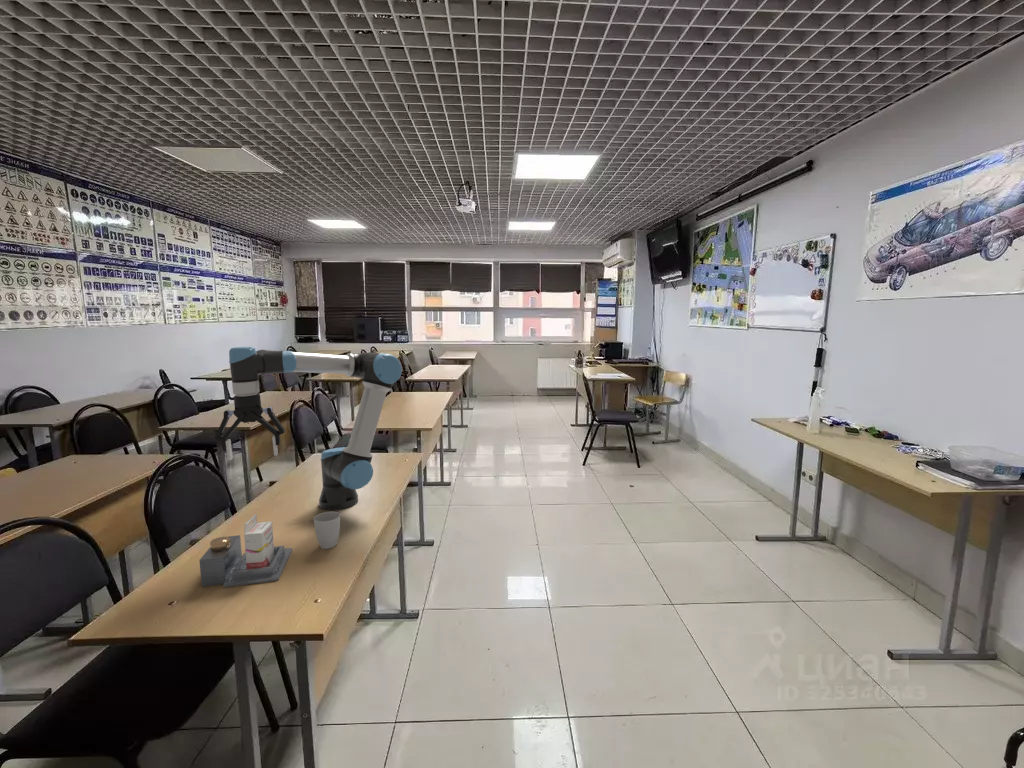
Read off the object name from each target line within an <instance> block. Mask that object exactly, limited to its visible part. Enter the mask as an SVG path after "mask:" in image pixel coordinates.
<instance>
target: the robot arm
mask: <svg viewBox="0 0 1024 768" xmlns="http://www.w3.org/2000/svg"><path fill="white" fill-rule="evenodd" d="M228 350H229V351H228V356H229V359H228V363H229V368H230V374H231V375H230V377H231V385H232V394H233V395H234V396H233V404H234V410H230V409H226V410H224V411H223V418H222V421H221V423H220V425H219V427H218V429H217V432H216V434H215V435H214V440H219V441H221V444H222V450H223V451H226V456H227V461H231V460H232V459H233V456H234V455H233V448H232V441H231V438H229V437H230V436H231V435H232V434H233V432H234V431H235V430H236V429H237V427H238V426H239V425H240V423H243V424H247V423H255V422H258V423H259V424H260V425H262V426H263V427H264V428H265V429H267V430H268V432H270V433H271V434H273V435H272V436H271V439H272V440H271V441H272V448H273V456H276V457H277V456H278V454H279V450H278V446H280V445H281V436H280V435H283V434H284V433H285V432H286V429H285V427H284V426H283V425H282V423H281V422H280V420H279V419H278V417H277V416H276V415H275V413H274V409H273V407H272V406H268V407H264V408H263V407H262V401H261V395H260V392H261V391H260V382H259V380H260V379H259V376H260V375H272V374H275V375H276V374H283V373H284V374H286V373H309V374H311V373H314V374H333V375H335V374H336V375H337V374H338V375H345V376H346V377H347V378H348V377H351V378H359V379H362V384H363V386H364V389H363V393H362V397H361V400H360V404H359V407H358V410H357V413H356V417H355V419H354V423H353V426H352V429H351V435H350V438H349V441H348V444H347V446H345V447H344V446H342V447H341V446H340V447H335V448H334V447H333V448H330V449H329V448H328V449H325V450H323V451H322V452H321V455H320V456H321V457H320V463H321V466H320V467H321V481H322V487H321V492H320V496H319V499H318V506H319V508H321V509H322V508H323V510H329V511H333V510H335V509H337V510H343V509H346V508H350V507H352V505H353V506H354V505H356V504H357V503H358V502H357V501H359V495H358V492H357V490H359V489H363V488H364V487H365V486H367V485H368V484H369V483H370V481H371V480H372V478H373V475H374V467H373V466H372V464H371V463H372V459H373V455H372V453H371V449H372V445H373V441H374V438H375V434H376V431H377V428H378V424H379V421H380V417H381V413H382V410H383V406H384V403H385V399H386V397H387V396H386V395H387V394H388V392H390V391H392V390H393V385H394V384H395V383H396V382H397V381H399V380H400V378H401V377H402V376H401V375H402V373H403V368H402V364H401V362H400V360H399V359H398V358H397V357H396V356H395V355H394V354H391V353H386V352H363V353H361V352H360V353H359V352H358V353H352V352H350V353H347V354H345V355H344V354H327V353H314V352H298V351H297V352H296V351H292V350H269V349H268V350H267V349H258V350H256V348H255V347H254V346H237V347H236V346H235V347H231V348H230V349H228ZM263 413H264V414H266V415H268V417H269V419H270V420H271V421H272V423H273V425H274V426H275V427H274V426H273V425H272V424H271V423H270V422H268V420H266V419H265V417H263V416H262V414H263ZM233 415H234V416H235V418H236V420H235V421H234V422H233V424H232V425H231V426H230V427H229V429H228V430H227V431H226V432H225V434H223V433H224V431H225V429H226V426H227V425H228V422H229V420H230V418H231V417H232V416H233ZM355 503H356V504H355ZM335 511H336V510H335Z"/></svg>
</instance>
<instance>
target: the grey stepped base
mask: <svg viewBox="0 0 1024 768" xmlns="http://www.w3.org/2000/svg"><path fill="white" fill-rule="evenodd" d="M241 540H242V539H241V534H240V535H239V534H238V535H230V536H220V537H216V538H214V539H212V540H211V541H210V542H209V545H210V547H209V548H208V549H207V551H205V553H204V554H203V555H202V556H201V557H200V558H199V570H200V572H199V573H200V581H201V582H200V583H201V588H204V587H205V588H206V587H211V586H218V585H223V586H222V588H224V589H225V588H231V587H238V586H246V585H254V584H255V585H256V584H261V583H269V582H276V581H277V582H278V581H279V580H280V578H281V575H282V573H283V571H284V569H285V567H286V565H287V563H288V560H289V558H290V556H291V554H292V552H293V547H287V548H285V545H278V546H274V558H273V559H272V561H271V562H270V563H269V564H268V566H267V567H263V568H254V569H247V565H246V552H244V553H243V554H242V543H241V542H242V541H241Z"/></svg>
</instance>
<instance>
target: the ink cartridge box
mask: <svg viewBox="0 0 1024 768" xmlns="http://www.w3.org/2000/svg"><path fill="white" fill-rule="evenodd" d="M257 517H258V514H257V513H255V514H254V515H253V516H252V517H250V518H249V520H248V521H246V522H245V523H244V532H243V534H244V535H243V536H244V548H245V549H244V550H245V552H244V553H246V565H247V569H254V568H263V567H267V566H268V564H269V563H270V562H271V561H272V559H273V558H274V547H275V546H274V528H273V521H261V522H258V520H257V519H258V518H257Z"/></svg>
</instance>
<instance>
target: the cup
mask: <svg viewBox="0 0 1024 768" xmlns="http://www.w3.org/2000/svg"><path fill="white" fill-rule="evenodd" d="M313 523H314V525H313V526H314V530H315V531H314V532H315V536H316V539H317V542H318V545H319V546H320V548H321V549H324V550H327V549H331V548H334V547H336V546H337V545H338V544H337V543H338V540H339V537H340V529H341V513H340V512H337V511H325V512H322V513H321V512H320V513H319V514H317V515H315V516H314V517H313Z"/></svg>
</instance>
